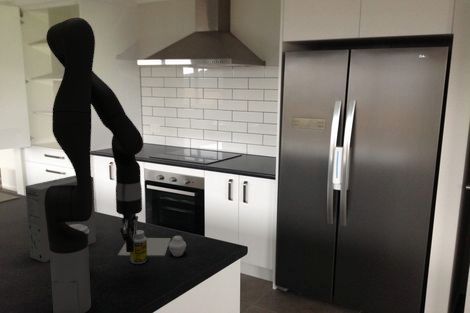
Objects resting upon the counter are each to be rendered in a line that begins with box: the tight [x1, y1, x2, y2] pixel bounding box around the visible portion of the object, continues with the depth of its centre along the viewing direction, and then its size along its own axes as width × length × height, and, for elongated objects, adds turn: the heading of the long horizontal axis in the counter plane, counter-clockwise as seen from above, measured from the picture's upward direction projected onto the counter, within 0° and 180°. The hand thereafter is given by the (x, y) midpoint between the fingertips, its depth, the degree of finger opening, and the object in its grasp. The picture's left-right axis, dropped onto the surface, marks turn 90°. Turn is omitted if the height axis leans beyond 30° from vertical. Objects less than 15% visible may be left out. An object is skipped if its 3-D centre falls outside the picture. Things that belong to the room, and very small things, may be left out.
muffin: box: [168, 235, 187, 258], centre depth 144 cm, size 6×6×7 cm
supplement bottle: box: [129, 229, 148, 265], centre depth 138 cm, size 6×6×10 cm
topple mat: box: [117, 237, 172, 257], centre depth 150 cm, size 16×16×1 cm
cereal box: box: [25, 174, 97, 263], centre depth 145 cm, size 22×8×25 cm, turn 149°
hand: (130, 251), depth 127 cm, fingers closed
